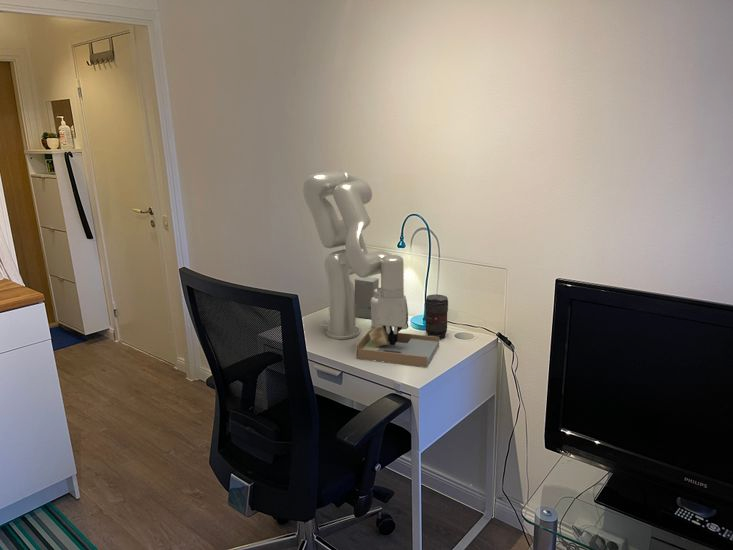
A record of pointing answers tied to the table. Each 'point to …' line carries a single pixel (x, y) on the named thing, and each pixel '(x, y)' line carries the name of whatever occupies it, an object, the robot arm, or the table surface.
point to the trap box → (400, 349)
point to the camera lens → (436, 315)
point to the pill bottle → (374, 308)
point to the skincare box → (364, 295)
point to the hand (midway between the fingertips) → (393, 343)
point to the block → (379, 337)
